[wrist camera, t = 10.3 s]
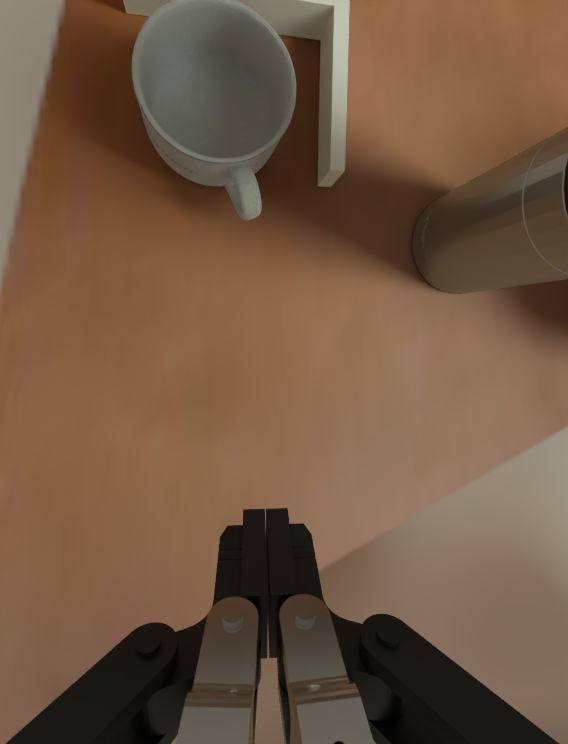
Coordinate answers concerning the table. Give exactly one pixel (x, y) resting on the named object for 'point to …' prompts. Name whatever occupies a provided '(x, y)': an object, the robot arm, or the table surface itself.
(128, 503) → the table surface
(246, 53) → the teacup
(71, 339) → the table surface
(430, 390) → the table surface
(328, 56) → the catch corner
